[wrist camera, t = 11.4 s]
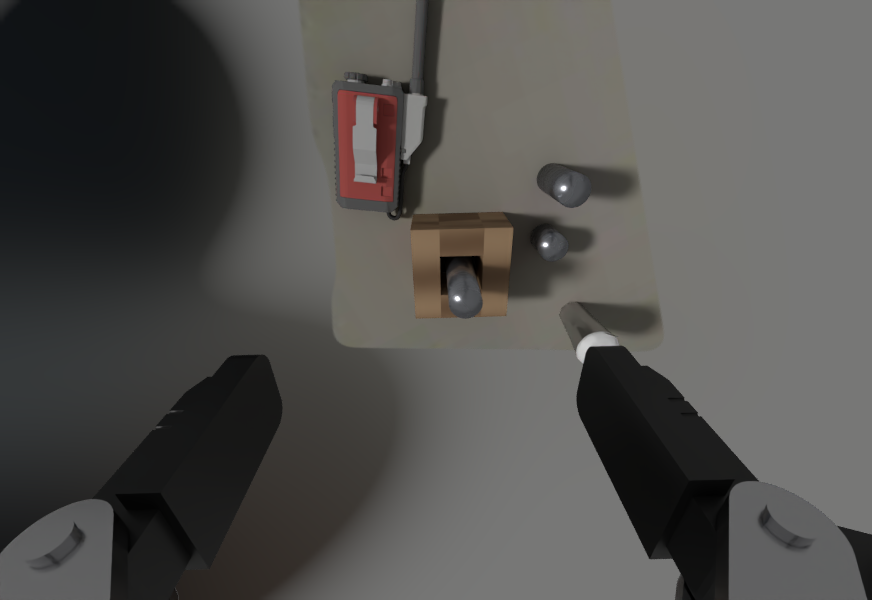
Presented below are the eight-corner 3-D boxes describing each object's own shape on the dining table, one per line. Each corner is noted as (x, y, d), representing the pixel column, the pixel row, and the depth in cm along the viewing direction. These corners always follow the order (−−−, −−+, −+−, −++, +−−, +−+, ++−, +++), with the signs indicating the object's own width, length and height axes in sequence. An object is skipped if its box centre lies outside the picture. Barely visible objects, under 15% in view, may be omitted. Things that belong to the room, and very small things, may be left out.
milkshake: (596, 294, 44) (638, 339, 35) (582, 329, 47) (617, 379, 38) (562, 289, 44) (595, 333, 35) (549, 324, 46) (577, 374, 38)
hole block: (413, 214, 39) (410, 230, 34) (502, 211, 39) (513, 227, 34) (417, 293, 44) (415, 318, 39) (497, 291, 44) (506, 315, 39)
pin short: (531, 224, 40) (541, 234, 36) (558, 223, 40) (570, 234, 36) (529, 249, 41) (538, 261, 38) (554, 248, 41) (566, 261, 38)
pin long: (444, 243, 41) (448, 289, 30) (470, 242, 41) (483, 288, 30) (444, 267, 42) (449, 318, 32) (469, 266, 42) (482, 317, 32)
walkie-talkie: (418, 218, 40) (436, -8, 30) (416, 230, 36) (436, -26, 27) (340, 211, 39) (334, -22, 30) (330, 221, 35) (319, -42, 26)
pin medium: (538, 163, 37) (560, 173, 31) (567, 162, 37) (594, 172, 31) (535, 192, 38) (555, 208, 32) (562, 192, 38) (588, 207, 32)
